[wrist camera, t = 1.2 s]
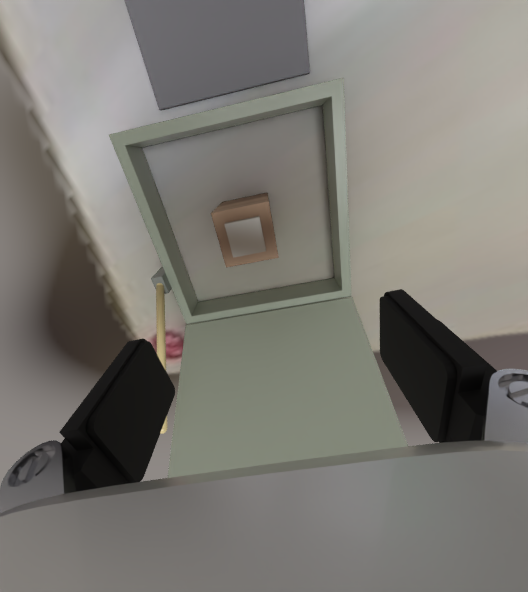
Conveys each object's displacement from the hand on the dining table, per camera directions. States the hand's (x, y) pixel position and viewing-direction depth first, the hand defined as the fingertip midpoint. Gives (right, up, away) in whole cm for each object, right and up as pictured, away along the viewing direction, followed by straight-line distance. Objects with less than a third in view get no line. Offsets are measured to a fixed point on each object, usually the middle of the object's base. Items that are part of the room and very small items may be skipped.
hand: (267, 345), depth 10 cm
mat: (-4, +25, +10) cm, 28 cm away
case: (-2, +7, +20) cm, 21 cm away
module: (-2, +11, +18) cm, 21 cm away
